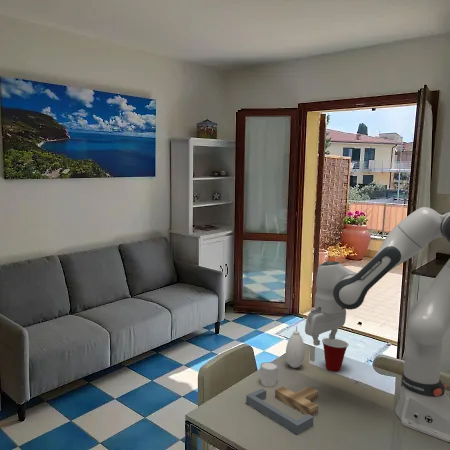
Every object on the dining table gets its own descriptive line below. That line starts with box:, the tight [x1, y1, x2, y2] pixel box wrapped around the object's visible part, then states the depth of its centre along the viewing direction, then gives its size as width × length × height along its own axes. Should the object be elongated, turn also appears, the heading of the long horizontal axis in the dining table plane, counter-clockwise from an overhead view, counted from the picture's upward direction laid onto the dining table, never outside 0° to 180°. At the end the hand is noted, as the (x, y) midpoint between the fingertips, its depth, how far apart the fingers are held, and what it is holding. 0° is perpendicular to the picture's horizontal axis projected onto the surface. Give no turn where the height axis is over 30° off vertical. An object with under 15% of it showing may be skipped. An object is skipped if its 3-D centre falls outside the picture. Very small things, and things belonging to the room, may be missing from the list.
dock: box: [245, 388, 315, 435], centre depth 145 cm, size 23×8×3 cm, turn 41°
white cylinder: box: [259, 361, 279, 387], centre depth 165 cm, size 7×7×7 cm
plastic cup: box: [321, 337, 349, 373], centre depth 179 cm, size 11×11×12 cm
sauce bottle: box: [285, 325, 306, 369], centre depth 179 cm, size 8×8×18 cm
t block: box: [274, 386, 319, 417], centre depth 153 cm, size 16×12×3 cm
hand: (324, 341), depth 158 cm, fingers open, 8 cm apart
